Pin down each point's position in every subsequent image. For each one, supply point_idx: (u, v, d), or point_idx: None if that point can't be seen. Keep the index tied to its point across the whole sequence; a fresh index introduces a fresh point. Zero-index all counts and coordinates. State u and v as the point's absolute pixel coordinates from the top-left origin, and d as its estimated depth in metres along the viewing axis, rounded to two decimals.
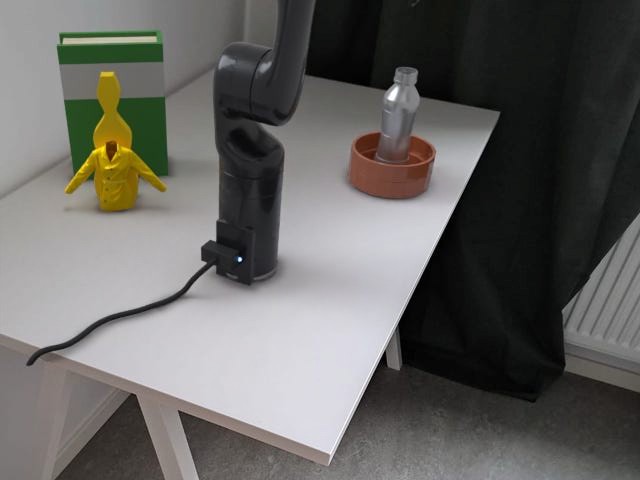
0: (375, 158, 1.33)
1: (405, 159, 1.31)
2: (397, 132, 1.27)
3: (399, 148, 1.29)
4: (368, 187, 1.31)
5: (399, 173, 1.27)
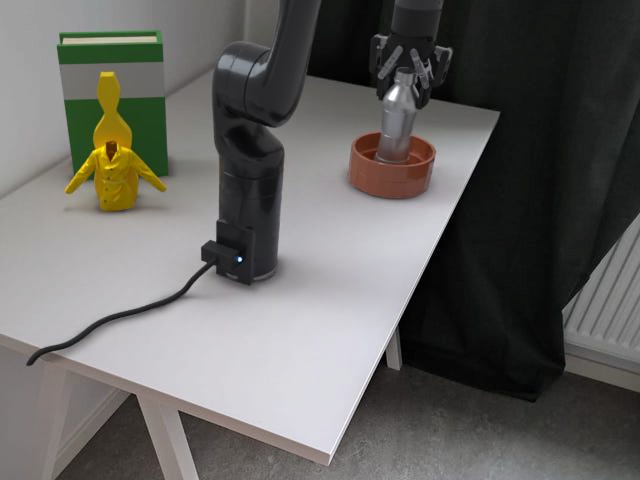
0: (375, 158, 1.33)
1: (405, 159, 1.31)
2: (398, 132, 1.27)
3: (399, 148, 1.29)
4: (368, 187, 1.31)
5: (399, 173, 1.27)
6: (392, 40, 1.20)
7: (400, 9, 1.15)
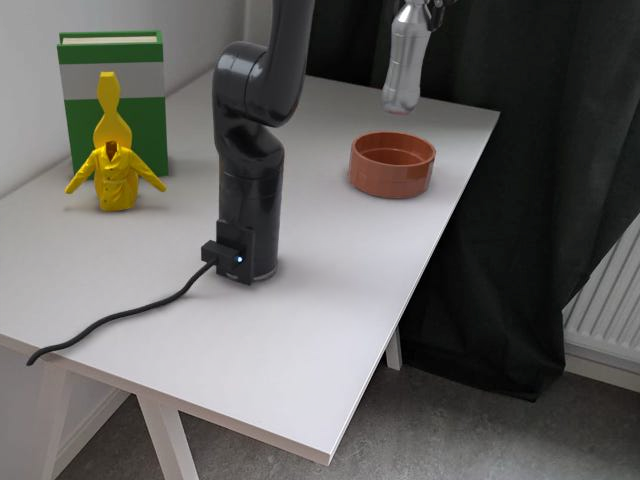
0: (383, 89, 1.25)
1: (416, 89, 1.23)
2: (408, 57, 1.19)
3: (410, 76, 1.21)
4: (368, 187, 1.31)
5: (399, 173, 1.27)
6: None
7: None
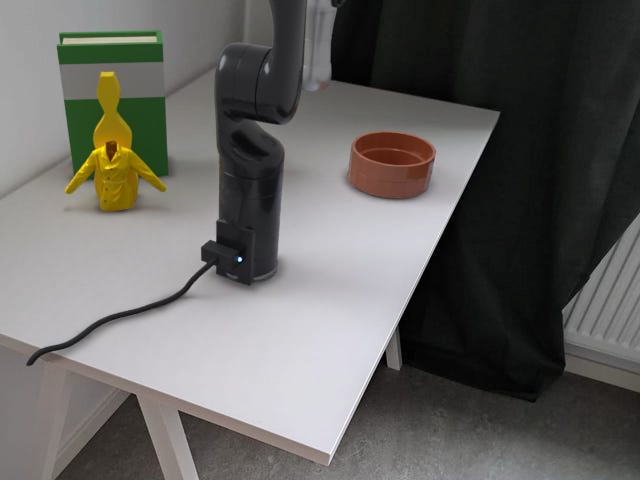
0: None
1: (326, 65, 1.24)
2: (315, 33, 1.20)
3: (318, 53, 1.22)
4: (368, 187, 1.31)
5: (399, 173, 1.27)
6: None
7: None
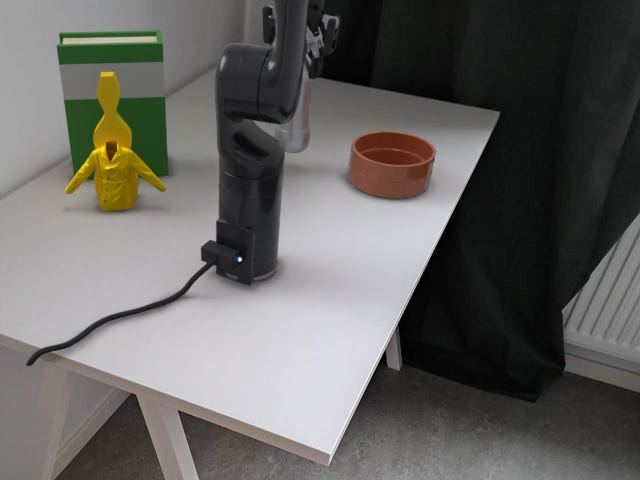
0: (276, 129, 1.34)
1: (304, 130, 1.32)
2: None
3: (297, 119, 1.30)
4: (368, 187, 1.31)
5: (399, 173, 1.27)
6: None
7: None
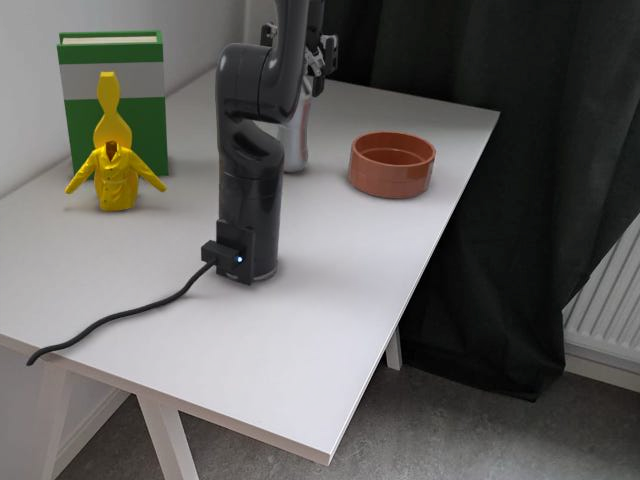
0: None
1: (302, 149, 1.35)
2: (292, 122, 1.31)
3: (295, 139, 1.33)
4: (368, 187, 1.31)
5: (399, 173, 1.27)
6: None
7: None
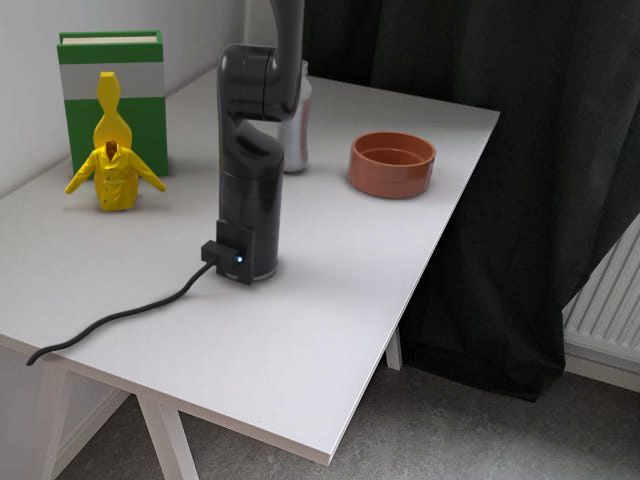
0: None
1: (302, 149, 1.35)
2: (292, 122, 1.31)
3: (295, 139, 1.33)
4: (368, 187, 1.31)
5: (399, 173, 1.27)
6: None
7: None
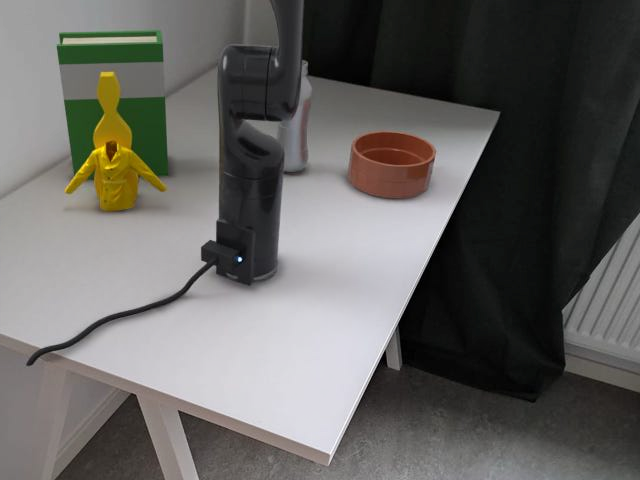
0: None
1: (302, 149, 1.35)
2: (292, 122, 1.31)
3: (295, 139, 1.33)
4: (368, 187, 1.31)
5: (399, 173, 1.27)
6: None
7: None
